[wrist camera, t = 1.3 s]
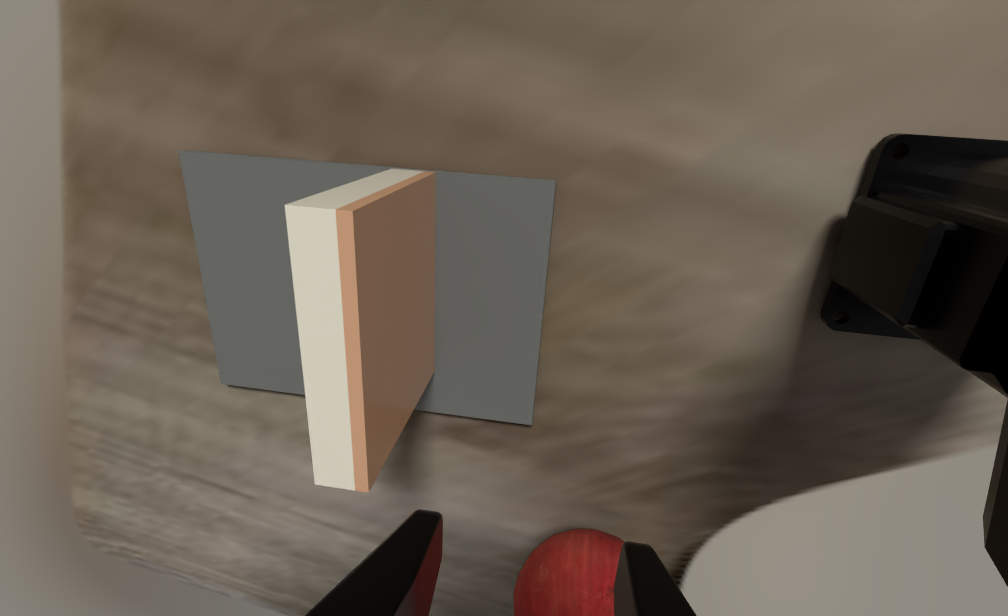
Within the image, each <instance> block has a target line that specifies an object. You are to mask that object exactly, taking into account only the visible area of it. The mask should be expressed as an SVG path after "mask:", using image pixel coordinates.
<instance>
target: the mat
mask: <svg viewBox="0 0 1008 616" xmlns="http://www.w3.org/2000/svg"><path fill="white" fill-rule="evenodd" d="M179 156H180V162H181V167H182V173H183V178H184V184H185V189H186V195H187V200H188V205H189V211H190V216H191V222H192V227H193V233H194V238H195V244H196V249H197V255H198V260H199V266H200V271H201V277H202V282H203V287H204V293H205V298H206V304H207V309H208V315H209V320H210V326H211V331H212V337H213V342H214V348H215V353H216V359H217V364H218V369H219V375H220V380H221V384H226V385H234V386H241V387H249V388H256V389H264V390H271V391H279V392H286V393H294V394H301V395H305V388H304V379H303V369H302V360H301V351H300V342H299V333H298V324H297V314H296V305H295V296H294V287H293V278H292V268H291V259H290V250H289V241H288V232H287V223H286V213H285V205H286V204H289V203H292V202H294V201H297V200H300V199H303V198H306V197H309V196H312V195H315V194H318V193H321V192H324V191H327V190H330V189H333V188H336V187H339V186H342V185H345V184H348V183H351V182H354V181H357V180H360V179H362V178H365V177H368V176H371V175H374V174H377V173H380V172H383V171H386V170H389V169H404V170H416V171H428V172H436V232H435V367H434V373H433V375H432V377H431V379H430V381H429V382H428V384H427V386H426V388H425V390H424V392H423V393H422V395H421V397H420V399H419V401H418V403H417V404H416V406H415V408H414V410H421V411H429V412H436V413H444V414H451V415H459V416H466V417H474V418H481V419H489V420H496V421H503V422H511V423H518V424H526V425H532V421H533V412H534V402H535V391H536V381H537V371H538V361H539V351H540V341H541V330H542V320H543V310H544V300H545V290H546V280H547V269H548V259H549V249H550V239H551V229H552V219H553V208H554V198H555V188H556V180H546V179H534V178H522V177H509V176H497V175H485V174H472V173H460V172H448V171H436V170H423V169H411V168H399V167H386V166H374V165H362V164H349V163H337V162H325V161H313V160H300V159H288V158H276V157H263V156H251V155H239V154H226V153H214V152H202V151H190V150H184V151H179Z"/></svg>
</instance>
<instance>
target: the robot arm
mask: <svg viewBox="0 0 1008 616" xmlns="http://www.w3.org/2000/svg"><path fill="white" fill-rule="evenodd" d="M898 143H899V144H900V145H901V152H900V154H899V155H898V156H897V157H895V158H893V159H892V158H891V156H890V151H891V149H892V148H893V146H895V145H896V144H898ZM829 275H830V276H831V277H832V280H831V283H830V286H829V289H828V292H827V295H826V298H825V301H824V304H823V307H822V310H821V319H822V321H823V322H824V323H825V324H826V325H827V326H828V327H830V328H831V329H833V330H836V331H844V332H853V333H863V334H872V335H881V336H891V337H900V338H910V339H919V340H922V341H924V342H925V343H927V344H928V345H930V346H931V347H933V348H934V349H936V350H937V351H938V352H940V353H941V354H943V355H944V356H946V357H947V358H949V359H950V360H952V361H953V362H955V363H956V364H957V365H959V366H960V367H962V368H964V369H966V370H968V371H969V372H971V373H972V374H974V375H975V376H977V377H978V378H979V379H981V380H982V381H984V382H985V383H987V384H988V385H990V386H991V387H993V388H994V389H996V390H997V391H998V392H1000V393H1001V394H1003V395H1004V396H1006V397H1007V398H1008V141H1003V140H988V139H973V138H958V137H943V136H928V135H913V134H890V135H888V136H886V137H884V138H883V139H882V140H881V141H880V142H879V143H878V144H877V146H876V148H875V150H874V153H873V156H872V159H871V163H870V166H869V169H868V172H867V175H866V178H865V181H864V184H863V187H862V190H861V193H860V196H859V198H857V199H856V200H855V201H854V202H852V204H851V206H850V209H849V212H848V216H847V219H846V222H845V225H844V228H843V231H842V234H841V237H840V240H839V243H838V246H837V249H836V252H835V255H834V258H833V261H832V264H831V267H830V271H829ZM839 311H844V315H843V316H842V317H841V318H840V319H838V320H833V319H834V315H835V314H836V313H838V312H839ZM983 526H984V543H985V548H986V550H987V552H988V554H989V555H990V557H991V559H992V561H993V562H994V564H995V566H996V567H997V569H998V571H999V573H1000V574H1001V576H1002V578H1003V579H1004V581H1005V583H1006V585H1007V586H1008V401H1007V405H1006V410H1005V415H1004V419H1003V424H1002V429H1001V434H1000V438H999V443H998V448H997V453H996V458H995V462H994V467H993V472H992V476H991V481H990V486H989V490H988V495H987V500H986V505H985V509H984V514H983ZM442 536H443V518H442V515H441V514H440V513H439V512H434V511H427V510H417V511H415V512H414V513H413V514H411V515H410V516H409V517H408V518H407V519H406V520H405V521H404V522H403V523H402V524H401V525H400V526H399V527H398V528H397V529H396V530H395V531H394V532H393V533H391V534H390V535H389V536H388V537H387V538H386V539H385V540H384V541H383V542H382V543H381V544H380V545H379V546H378V547H377V548H376V549H375V550H374V551H373V552H371V553H370V554H369V555H368V556H367V557H366V558H365V559H364V560H363V561H362V562H361V563H360V564H359V565H358V566H357V567H356V568H355V569H354V570H353V571H352V572H350V573H349V574H348V575H347V576H346V577H345V578H344V579H343V580H342V581H341V582H340V583H339V584H338V585H337V586H336V587H335V588H334V589H333V590H332V591H330V592H329V593H328V594H327V595H326V596H325V597H324V598H323V599H322V600H321V601H320V602H319V603H318V604H317V605H316V606H315V607H314V608H313V609H312V610H310V611H309V612H308V613H307V614H306V615H305V616H428V615H429V611H430V607H431V602H432V598H433V594H434V590H435V585H436V581H437V577H438V572H439V568H440V563H441V557H442ZM614 616H696V614H695V613H694V611H693V610H692V608H691V606H690V605H689V603H688V602H687V600H686V599H685V597H684V596H683V594H682V593H681V591H680V589H679V588H678V586H677V585H676V583H675V582H674V580H673V579H672V577H671V576H670V574H669V572H668V571H667V569H666V568H665V566H664V565H663V563H662V562H661V560H660V559H659V557H658V556H657V554H656V552H655V551H654V549H653V548H652V547H651V546H649V545H647V544H641V543H635V542H625V543H623V545H622V548H621V552H620V557H619V562H618V567H617V572H616V577H615V584H614Z"/></svg>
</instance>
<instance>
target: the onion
mask: <svg viewBox="0 0 1008 616" xmlns="http://www.w3.org/2000/svg"><path fill="white" fill-rule="evenodd" d="M623 543H625V542H624V541H623V540H622V539H620V538H619V537H616V536H613V535H611V534H608V533H605V532H601V531H598V530H595V529H574V530H570V531H566V532H562V533H558V534H554V535H553V536H551V537H550V538H548V539H547V540H545V541H544V542H542V543H541V544H539V545H538V546H537V547H536V549H535V550H534V551H533V552H532V553H531V554H530V556H529V557H528V559H527V560H526V562H525V564H524V565H523V567H522V569H521V571H520V572H519V574H518V578H517V582H516V585H515V589H514V615H515V616H614V584H615V577H616V572H617V567H618V562H619V557H620V552H621V548H622V545H623Z"/></svg>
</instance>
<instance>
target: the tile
mask: <svg viewBox="0 0 1008 616" xmlns="http://www.w3.org/2000/svg"><path fill="white" fill-rule="evenodd" d="M285 213H286V223H287V232H288V241H289V250H290V259H291V268H292V278H293V287H294V296H295V305H296V314H297V324H298V333H299V342H300V351H301V360H302V369H303V379H304V388H305V397H306V406H307V415H308V425H309V434H310V443H311V452H312V461H313V470H314V480H315V484H316V485H323V486H329V487H336V488H342V489H349V490H355V491H362V492H368V493H369V491H370V489H371V487H372V485H373V484H374V482H375V480H376V478H377V476H378V474H379V473H380V471H381V469H382V467H383V465H384V463H385V462H386V460H387V458H388V456H389V454H390V452H391V450H392V449H393V447H394V445H395V443H396V441H397V439H398V438H399V436H400V434H401V432H402V430H403V428H404V427H405V425H406V423H407V421H408V419H409V417H410V416H411V414H412V412H413V410H414V408H415V406H416V404H417V403H418V401H419V399H420V397H421V395H422V393H423V392H424V390H425V388H426V386H427V384H428V382H429V381H430V379H431V377H432V375H433V373H434V367H435V232H436V172H428V171H416V170H404V169H389V170H386V171H383V172H380V173H377V174H374V175H371V176H368V177H365V178H362V179H360V180H357V181H354V182H351V183H348V184H345V185H342V186H339V187H336V188H333V189H330V190H327V191H324V192H321V193H318V194H315V195H312V196H309V197H306V198H303V199H300V200H297V201H294V202H292V203H289V204H286V205H285Z"/></svg>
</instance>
